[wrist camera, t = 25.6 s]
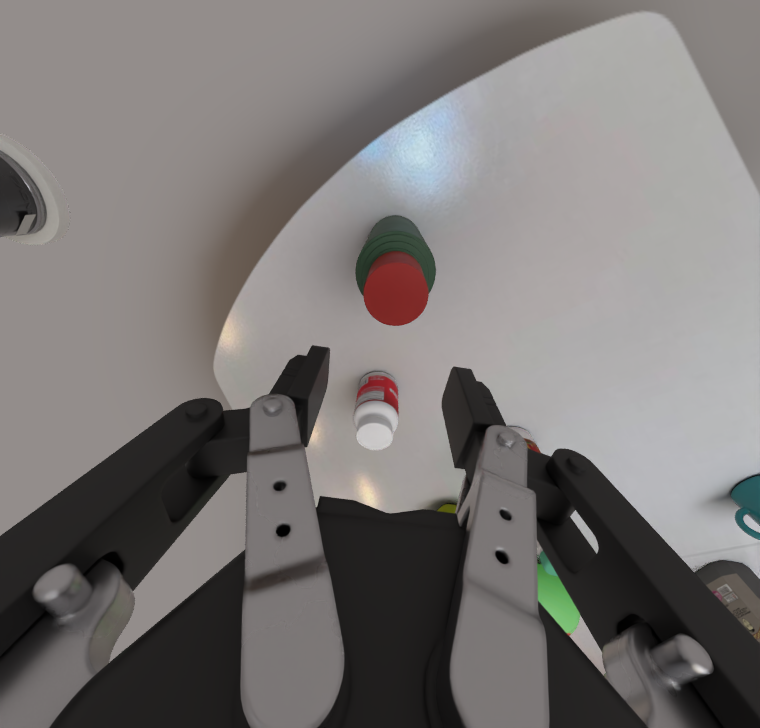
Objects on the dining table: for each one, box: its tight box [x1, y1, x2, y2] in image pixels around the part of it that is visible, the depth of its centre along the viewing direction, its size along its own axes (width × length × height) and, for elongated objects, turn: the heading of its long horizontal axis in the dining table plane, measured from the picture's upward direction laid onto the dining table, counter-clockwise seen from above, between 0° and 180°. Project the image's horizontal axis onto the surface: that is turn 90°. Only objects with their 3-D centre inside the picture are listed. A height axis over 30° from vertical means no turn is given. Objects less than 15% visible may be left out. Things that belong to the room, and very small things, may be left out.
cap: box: [364, 251, 428, 326], centre depth 20 cm, size 4×4×4 cm
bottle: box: [356, 215, 436, 296], centre depth 27 cm, size 6×6×19 cm
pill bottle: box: [353, 372, 399, 450], centre depth 42 cm, size 6×6×11 cm
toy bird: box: [537, 563, 580, 635], centre depth 67 cm, size 18×17×15 cm
